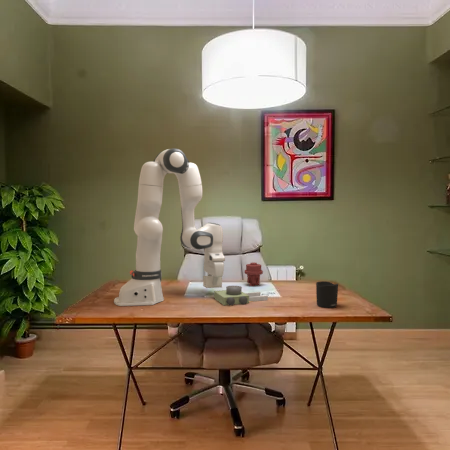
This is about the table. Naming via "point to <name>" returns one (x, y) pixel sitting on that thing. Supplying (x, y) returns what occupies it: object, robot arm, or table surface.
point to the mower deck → (237, 296)
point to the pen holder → (326, 294)
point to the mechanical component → (253, 273)
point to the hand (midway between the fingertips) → (212, 283)
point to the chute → (211, 282)
